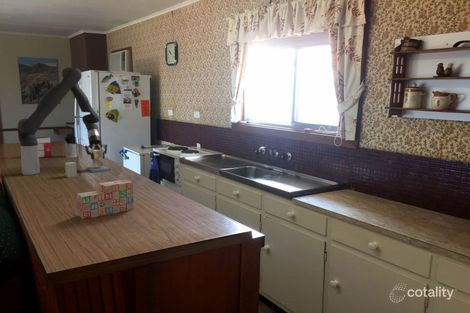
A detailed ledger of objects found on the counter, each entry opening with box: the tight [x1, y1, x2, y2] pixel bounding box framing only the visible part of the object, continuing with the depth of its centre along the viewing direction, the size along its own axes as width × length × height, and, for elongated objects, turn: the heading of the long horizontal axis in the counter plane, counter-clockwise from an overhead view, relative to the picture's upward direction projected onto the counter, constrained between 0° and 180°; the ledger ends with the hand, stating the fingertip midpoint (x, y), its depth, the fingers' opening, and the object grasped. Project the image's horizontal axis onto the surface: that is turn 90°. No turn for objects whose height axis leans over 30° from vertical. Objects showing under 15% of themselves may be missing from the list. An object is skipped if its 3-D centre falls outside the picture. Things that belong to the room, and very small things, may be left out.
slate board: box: [85, 164, 112, 174], centre depth 243 cm, size 11×13×2 cm
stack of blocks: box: [76, 179, 134, 220], centre depth 157 cm, size 21×6×12 cm, turn 130°
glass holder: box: [64, 136, 85, 158], centre depth 292 cm, size 9×14×15 cm, turn 115°
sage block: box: [64, 161, 78, 178], centre depth 224 cm, size 5×5×8 cm
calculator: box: [36, 136, 52, 159], centre depth 288 cm, size 11×4×15 cm, turn 143°
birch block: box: [92, 149, 104, 167], centre depth 241 cm, size 5×5×10 cm
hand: (98, 158), depth 240 cm, fingers closed on birch block, 5 cm apart
